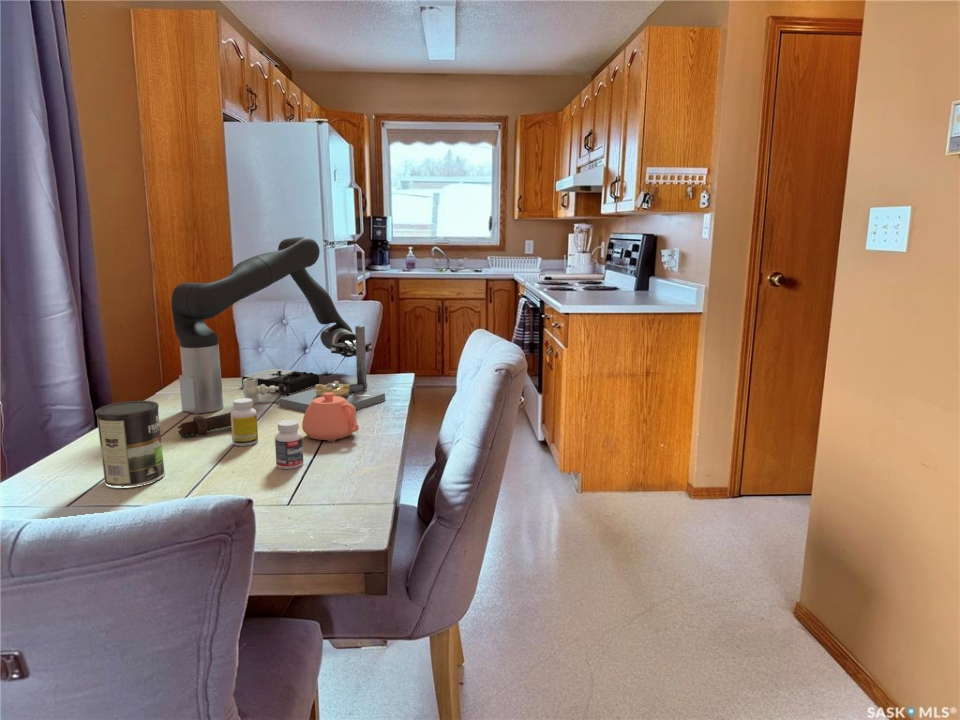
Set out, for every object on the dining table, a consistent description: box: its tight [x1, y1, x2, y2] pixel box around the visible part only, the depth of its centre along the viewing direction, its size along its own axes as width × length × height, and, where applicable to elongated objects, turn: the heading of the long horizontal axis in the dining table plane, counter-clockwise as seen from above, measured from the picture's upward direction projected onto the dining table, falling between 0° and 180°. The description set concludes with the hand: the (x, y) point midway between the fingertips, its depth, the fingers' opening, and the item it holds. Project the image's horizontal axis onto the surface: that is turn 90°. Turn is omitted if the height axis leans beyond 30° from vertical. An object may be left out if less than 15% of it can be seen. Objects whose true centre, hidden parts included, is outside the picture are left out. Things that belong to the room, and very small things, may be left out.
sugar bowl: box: [301, 392, 360, 442], centre depth 145 cm, size 12×14×10 cm
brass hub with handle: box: [314, 325, 368, 398], centre depth 175 cm, size 15×9×18 cm, turn 135°
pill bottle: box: [274, 419, 304, 470], centre depth 127 cm, size 5×5×9 cm
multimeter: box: [241, 368, 321, 394], centre depth 194 cm, size 13×19×5 cm
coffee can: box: [95, 400, 166, 487], centre depth 119 cm, size 10×10×14 cm
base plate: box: [279, 388, 386, 412], centre depth 174 cm, size 20×20×2 cm
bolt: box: [177, 411, 232, 438], centre depth 149 cm, size 6×5×15 cm
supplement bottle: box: [230, 397, 259, 447], centre depth 141 cm, size 5×5×10 cm
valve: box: [242, 376, 291, 404], centre depth 176 cm, size 7×7×12 cm
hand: (357, 352), depth 184 cm, fingers closed
